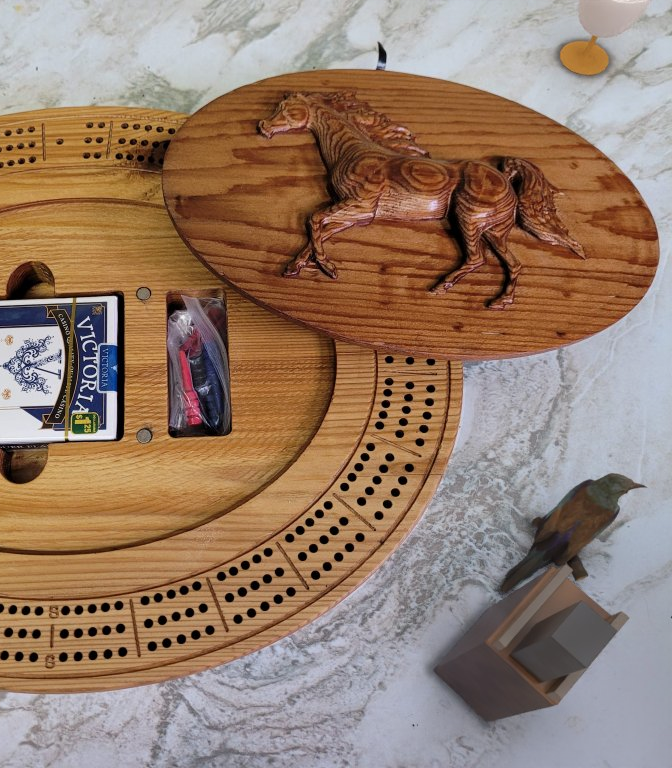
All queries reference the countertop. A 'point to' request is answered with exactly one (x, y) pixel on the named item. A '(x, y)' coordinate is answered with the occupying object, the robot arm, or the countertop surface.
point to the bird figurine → (571, 527)
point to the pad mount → (554, 634)
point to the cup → (600, 32)
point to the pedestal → (490, 667)
